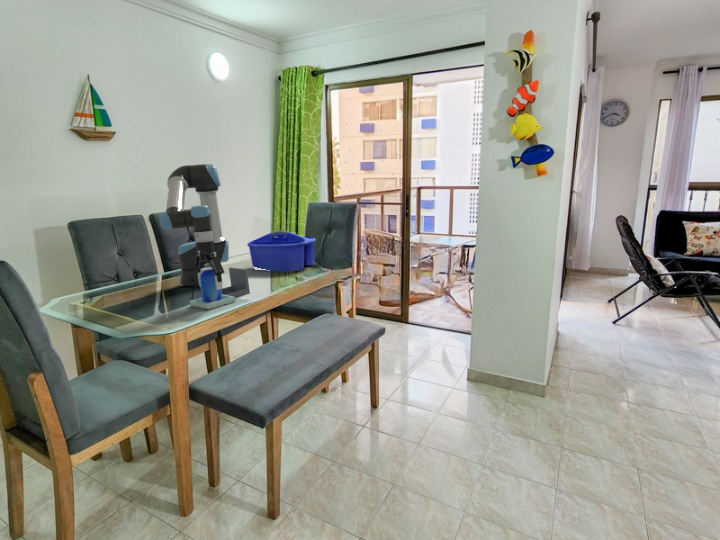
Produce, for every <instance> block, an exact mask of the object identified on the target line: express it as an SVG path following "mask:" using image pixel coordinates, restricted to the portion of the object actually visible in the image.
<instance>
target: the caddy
mask: <svg viewBox="0 0 720 540" xmlns="http://www.w3.org/2000/svg"><path fill="white" fill-rule="evenodd" d="M315 242H316V238H315V237H312V236H302V235H299V234H296V233H294V232H290V231H286V230H274V231H272V232H269V233H266V234H265V235H262V236H260V237H258V238H256V239H254V240H251V241H249V242H248V243H247V245H246V246H247V247H248V248H249V254H250V259H251V264H252V267H253V266H254V267H257V268H261V269H266V270H270V271H269V272H271V271H276V273H277V272H280V273H281V272H282V273H286V272H287V273H288V272H289V273H290V272H295V271H296V272H298V271H302V270H304V267H305V266H314V265H315V258H316V257H315Z"/></svg>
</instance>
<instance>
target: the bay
mask: <svg viewBox="0 0 720 540" xmlns="http://www.w3.org/2000/svg"><path fill="white" fill-rule="evenodd" d="M228 272H229V273H228V275H229V280H230V286H226V287H223V289H221V294H223V295H226V294H228V296H234V297H235V298H238V297H241V296H245V295H247V294H251V291H250V284H249V276H248V275H249V274H248V269H247V268H239V267H228Z"/></svg>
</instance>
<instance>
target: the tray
mask: <svg viewBox="0 0 720 540" xmlns="http://www.w3.org/2000/svg"><path fill="white" fill-rule="evenodd" d="M189 302H190V307H193V308H196V309H197V308H198V309H200V310H201V309H202V310H205V309H207V310H206V311H210V310H209V309H211V310H213V309H212V308H214V307H217V306H221V305H224V304H227V305H230V304H229V303H231V304H234V303H236V297H234V296H229V294H228V295H227V294H222V300H220V301H216V302H213V303H209V304H207V303H204V302H203V299H202V297H200V298H195V299H192V300H190V301H189ZM233 302H234V303H233ZM224 306H225V305H224ZM221 307H222V306H221ZM217 308H218V307H217ZM214 309H215V308H214Z"/></svg>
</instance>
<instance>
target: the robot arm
mask: <svg viewBox="0 0 720 540" xmlns="http://www.w3.org/2000/svg"><path fill="white" fill-rule="evenodd" d="M166 184H167V185H166V186H167V189H168V193H167V200H166V209H165V211H164V212H163V211H162V212H160V213H159V214H158V215H159V217H158V218H159V219H158V220H159V225H160V227H161V228H162V229H164V230H166V229H167V230H168V229H169V230H173V229H178V228H179V229H180V228H182V229H183V228H193V232H194V233H193V234H194V240H195V241H191V242H186V243H184V244H180V245H179V246H178V248H177V249H178V258H179V263H180V271H181V274H180V279H179V285H180V284H181V285H183V286H194V287H198V286H199V287H200V288H201V286H200V279H199V273H200V271H201V270H200V269H202V268H205V265H210V266H209V267H212V269H213V271H214V272H215V282H216V289H217V290H219V289H223V288H224V286H223V278H222V276H223V274H225V270H224V268H223V265H222V263H227V262H228V261H229V255H230V254H229V253H230V252H229V249H230V246H229V245H230V243H229V241H228V240H226V239H227V238H226V237H225V236H224V235H223V232H222V224H221V218H220V217H221V216H220V211H219V203H218V198H217V192H218V191H219V187H221V186H222V183H221V179H220V175H219V171H218V169H217V167H216V165H215V164H211V163H209V164H208V163H207V164H206V163H205V164H202V163H201V164H192V165H191V164H190V165H189V164H187V165H186V164H185V165H182V166H179V167H178V168H176V169H174V170H173V171H172V172H171V173H170V175H169V176H168V178H167V183H166ZM188 189H195V192H196V193H197V194H198V195H199V196H198V197H199V202H200V203H199V204H200V205H195V206H194V205H193V206H191V208H190V209H188V210H185V200H186V199H185V198H186V191H187V190H188Z"/></svg>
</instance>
